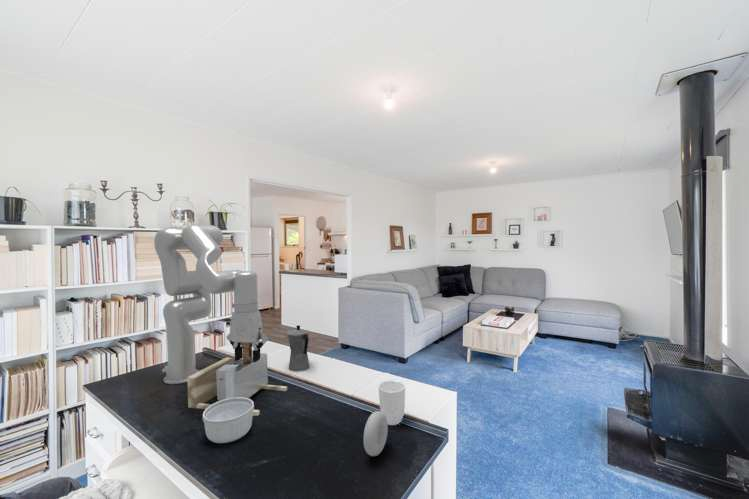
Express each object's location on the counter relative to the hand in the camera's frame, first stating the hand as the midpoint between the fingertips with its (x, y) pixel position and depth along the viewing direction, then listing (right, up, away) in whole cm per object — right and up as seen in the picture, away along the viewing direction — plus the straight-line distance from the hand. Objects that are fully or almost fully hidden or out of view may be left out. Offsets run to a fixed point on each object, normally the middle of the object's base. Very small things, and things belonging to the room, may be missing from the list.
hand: (247, 359), depth 111 cm
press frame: (-2, -14, +1) cm, 14 cm away
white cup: (+49, -13, -14) cm, 52 cm away
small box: (-6, -14, +2) cm, 15 cm away
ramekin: (+2, -14, -19) cm, 24 cm away
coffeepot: (+12, -13, +27) cm, 32 cm away
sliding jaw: (0, -12, 0) cm, 12 cm away
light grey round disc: (+44, -14, -29) cm, 54 cm away
